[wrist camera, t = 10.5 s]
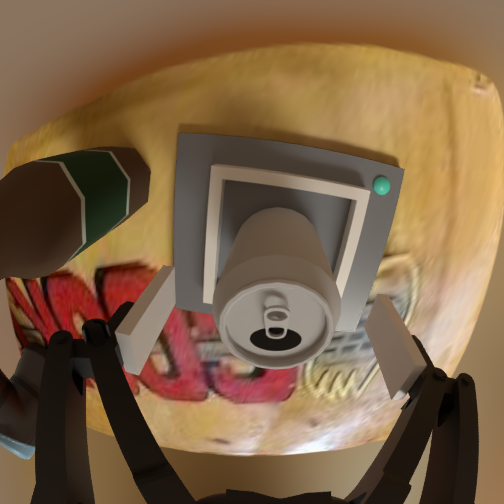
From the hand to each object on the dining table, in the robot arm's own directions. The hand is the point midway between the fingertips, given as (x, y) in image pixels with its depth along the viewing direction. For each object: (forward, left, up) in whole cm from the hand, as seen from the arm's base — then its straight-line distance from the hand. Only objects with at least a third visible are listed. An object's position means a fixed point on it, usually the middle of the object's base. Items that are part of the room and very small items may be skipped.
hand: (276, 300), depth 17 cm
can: (0, 0, -9) cm, 9 cm away
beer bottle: (-16, +4, -10) cm, 19 cm away
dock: (0, 0, -10) cm, 10 cm away
